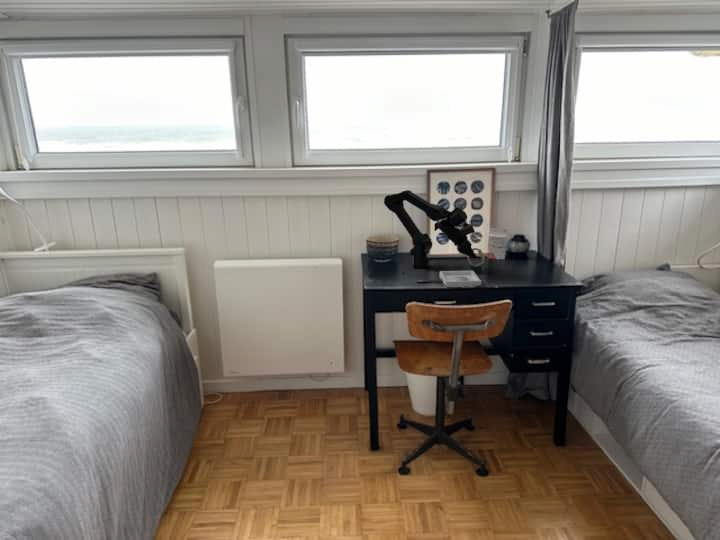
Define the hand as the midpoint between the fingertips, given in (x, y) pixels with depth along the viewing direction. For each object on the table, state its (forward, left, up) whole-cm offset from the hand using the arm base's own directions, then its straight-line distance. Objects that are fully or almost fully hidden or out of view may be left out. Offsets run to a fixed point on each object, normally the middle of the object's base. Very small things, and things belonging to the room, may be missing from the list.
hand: (474, 254), depth 220 cm
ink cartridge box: (+17, +22, -8) cm, 29 cm away
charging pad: (-15, -13, -8) cm, 21 cm away
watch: (+1, 0, -8) cm, 8 cm away
